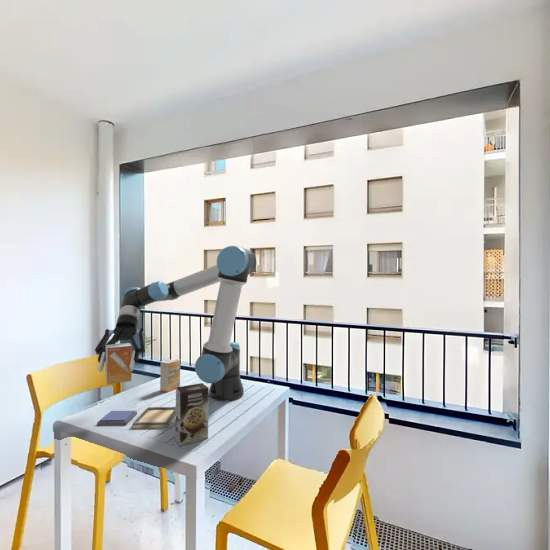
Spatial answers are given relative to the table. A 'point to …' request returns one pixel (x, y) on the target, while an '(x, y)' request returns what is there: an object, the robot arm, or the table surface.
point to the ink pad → (117, 418)
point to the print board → (155, 417)
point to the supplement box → (170, 375)
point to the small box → (118, 363)
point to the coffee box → (191, 413)
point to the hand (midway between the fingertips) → (115, 369)
